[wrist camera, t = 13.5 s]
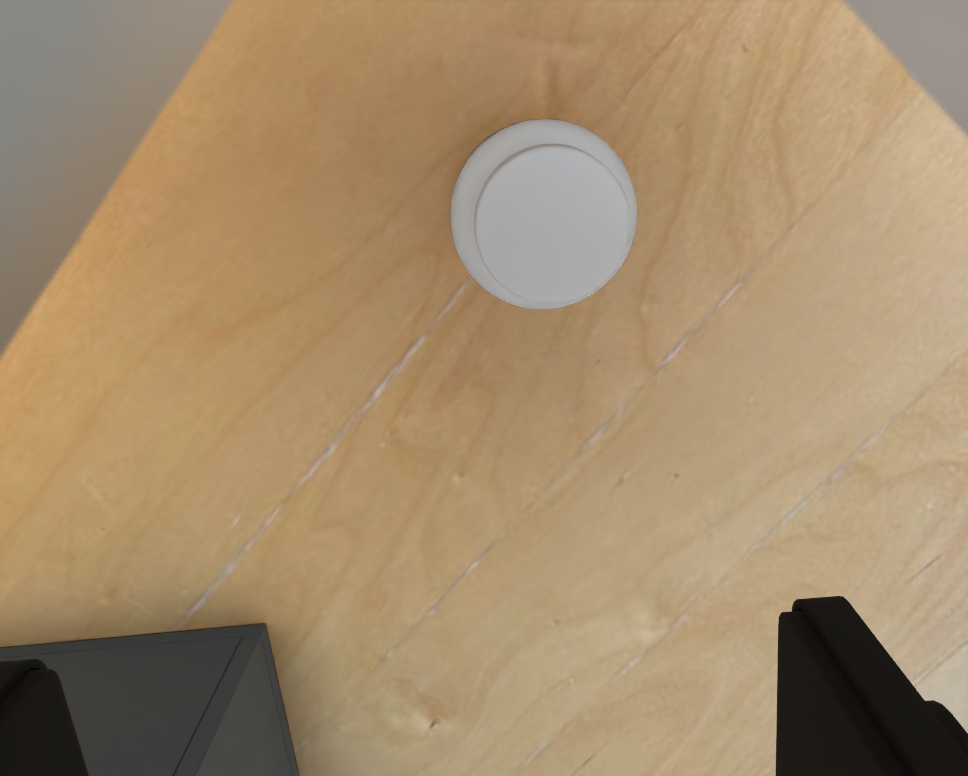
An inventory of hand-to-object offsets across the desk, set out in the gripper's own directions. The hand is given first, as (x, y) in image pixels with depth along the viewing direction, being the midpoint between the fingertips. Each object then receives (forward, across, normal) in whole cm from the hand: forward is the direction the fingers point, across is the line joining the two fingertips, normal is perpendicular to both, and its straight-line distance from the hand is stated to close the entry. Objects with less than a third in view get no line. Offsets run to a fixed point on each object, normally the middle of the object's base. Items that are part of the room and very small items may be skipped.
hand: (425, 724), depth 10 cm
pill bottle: (+22, -3, -5) cm, 23 cm away
